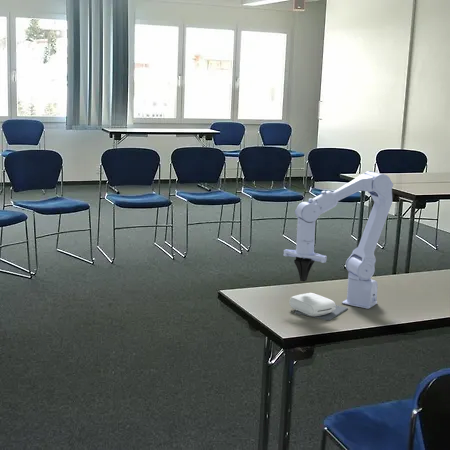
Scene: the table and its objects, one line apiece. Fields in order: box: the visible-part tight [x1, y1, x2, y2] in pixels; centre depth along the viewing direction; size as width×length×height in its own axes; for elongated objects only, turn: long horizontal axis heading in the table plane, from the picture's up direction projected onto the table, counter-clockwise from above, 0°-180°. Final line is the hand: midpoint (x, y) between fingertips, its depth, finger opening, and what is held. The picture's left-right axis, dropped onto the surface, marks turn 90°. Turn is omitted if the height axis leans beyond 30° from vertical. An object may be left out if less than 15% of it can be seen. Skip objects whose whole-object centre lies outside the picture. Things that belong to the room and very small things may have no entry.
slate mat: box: [294, 305, 349, 322], centre depth 217 cm, size 12×14×1 cm
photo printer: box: [288, 292, 336, 317], centre depth 215 cm, size 10×4×12 cm
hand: (303, 280), depth 219 cm, fingers closed
